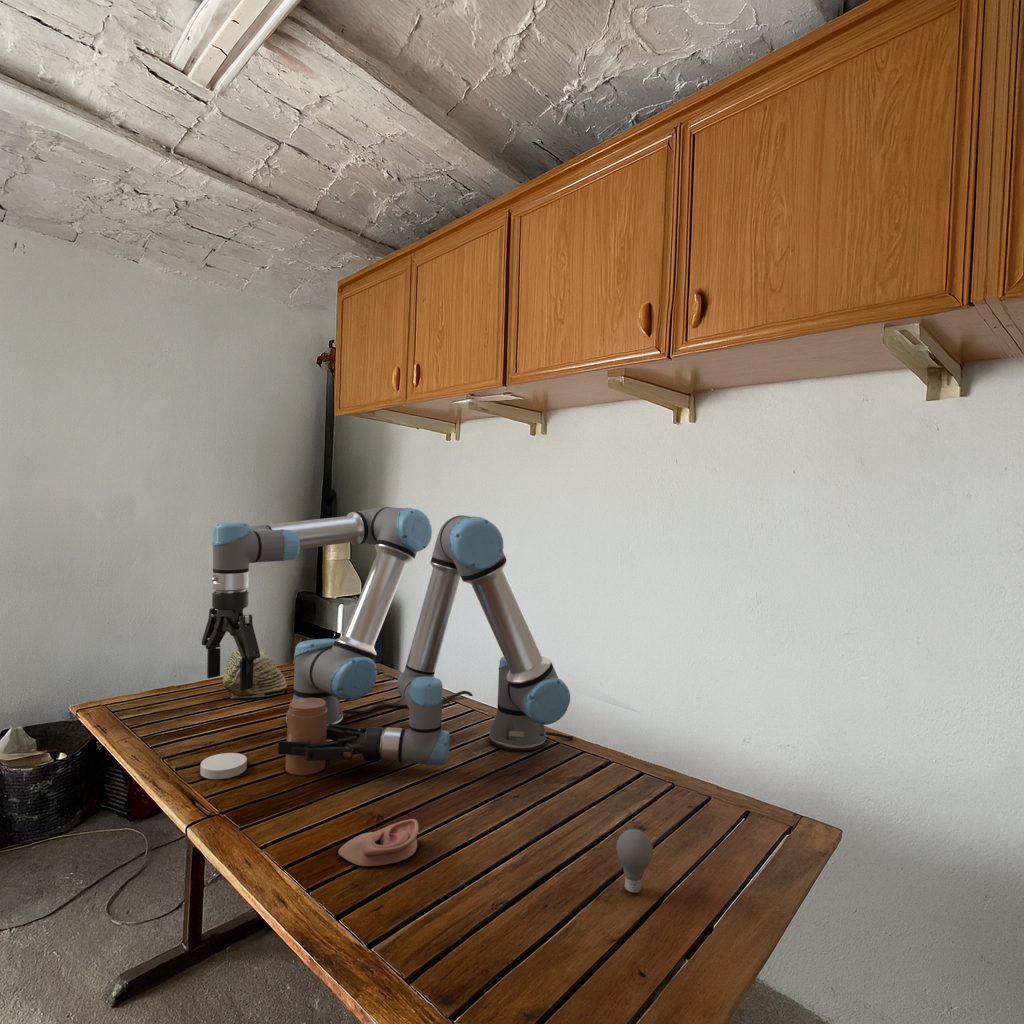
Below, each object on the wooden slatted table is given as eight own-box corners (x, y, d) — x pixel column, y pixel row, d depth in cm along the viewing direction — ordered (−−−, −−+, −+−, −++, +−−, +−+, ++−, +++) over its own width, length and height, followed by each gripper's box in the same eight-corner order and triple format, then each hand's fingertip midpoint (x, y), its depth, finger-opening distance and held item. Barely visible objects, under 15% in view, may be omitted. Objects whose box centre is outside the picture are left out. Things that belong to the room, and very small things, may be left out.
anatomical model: (330, 838, 110) (359, 807, 121) (329, 861, 110) (358, 828, 121) (402, 850, 107) (425, 817, 119) (401, 873, 108) (424, 838, 119)
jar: (316, 776, 143) (318, 710, 143) (278, 773, 144) (280, 707, 144) (331, 760, 152) (333, 698, 152) (295, 757, 153) (297, 695, 153)
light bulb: (610, 879, 108) (613, 822, 108) (644, 879, 109) (647, 822, 109) (619, 902, 102) (622, 840, 102) (655, 901, 103) (658, 840, 103)
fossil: (218, 695, 195) (220, 647, 195) (278, 685, 208) (279, 640, 207) (228, 703, 189) (230, 653, 188) (289, 692, 201) (290, 645, 201)
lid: (208, 761, 149) (209, 753, 149) (251, 761, 150) (251, 752, 150) (193, 779, 139) (194, 770, 139) (239, 779, 140) (239, 770, 140)
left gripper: (186, 585, 148) (185, 675, 149) (246, 599, 133) (244, 698, 134) (217, 582, 154) (216, 668, 155) (277, 595, 139) (276, 690, 140)
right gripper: (370, 781, 137) (267, 775, 137) (392, 742, 158) (303, 737, 159) (372, 746, 137) (268, 741, 137) (393, 712, 158) (304, 708, 159)
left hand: (229, 683), depth 145 cm, fingers open, 13 cm apart
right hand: (287, 739), depth 148 cm, fingers open, 9 cm apart
